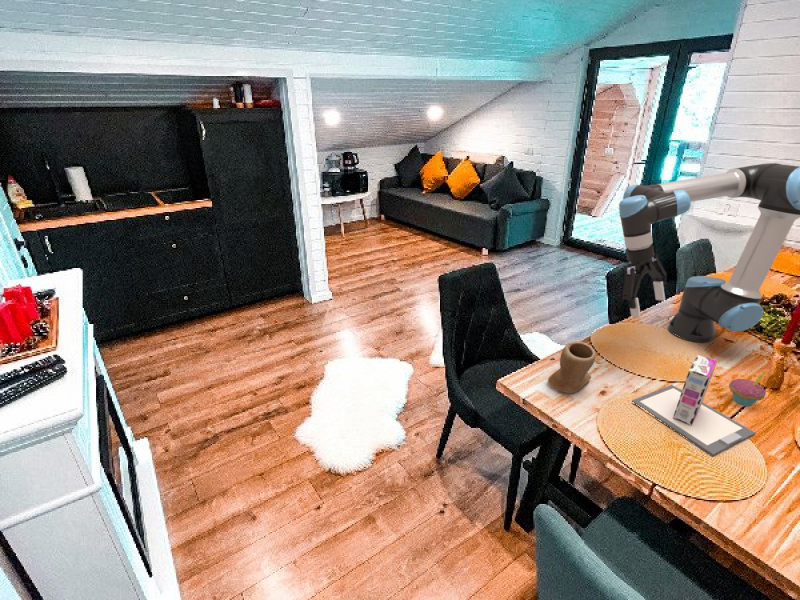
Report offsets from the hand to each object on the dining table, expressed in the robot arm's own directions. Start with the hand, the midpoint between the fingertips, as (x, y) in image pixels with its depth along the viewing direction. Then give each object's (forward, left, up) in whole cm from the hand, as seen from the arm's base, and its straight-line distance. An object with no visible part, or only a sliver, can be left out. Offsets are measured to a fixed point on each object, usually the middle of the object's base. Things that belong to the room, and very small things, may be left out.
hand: (648, 308), depth 137 cm
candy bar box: (+10, +25, -21) cm, 34 cm away
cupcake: (-11, +28, -22) cm, 37 cm away
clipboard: (+10, +26, -22) cm, 35 cm away
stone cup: (+28, -1, -22) cm, 35 cm away
